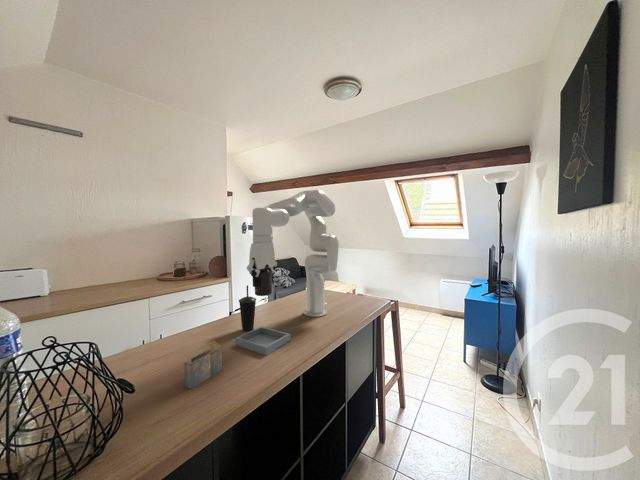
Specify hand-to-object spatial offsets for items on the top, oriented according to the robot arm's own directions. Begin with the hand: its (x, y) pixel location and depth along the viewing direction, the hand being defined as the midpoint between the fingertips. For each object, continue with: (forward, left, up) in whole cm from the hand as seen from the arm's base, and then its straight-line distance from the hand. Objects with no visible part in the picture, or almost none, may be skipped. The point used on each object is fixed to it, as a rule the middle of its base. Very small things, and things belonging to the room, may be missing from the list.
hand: (263, 284), depth 102 cm
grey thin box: (+27, +1, -24) cm, 36 cm away
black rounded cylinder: (-7, -16, -24) cm, 29 cm away
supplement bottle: (0, 0, -4) cm, 4 cm away
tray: (0, 0, -23) cm, 23 cm away
